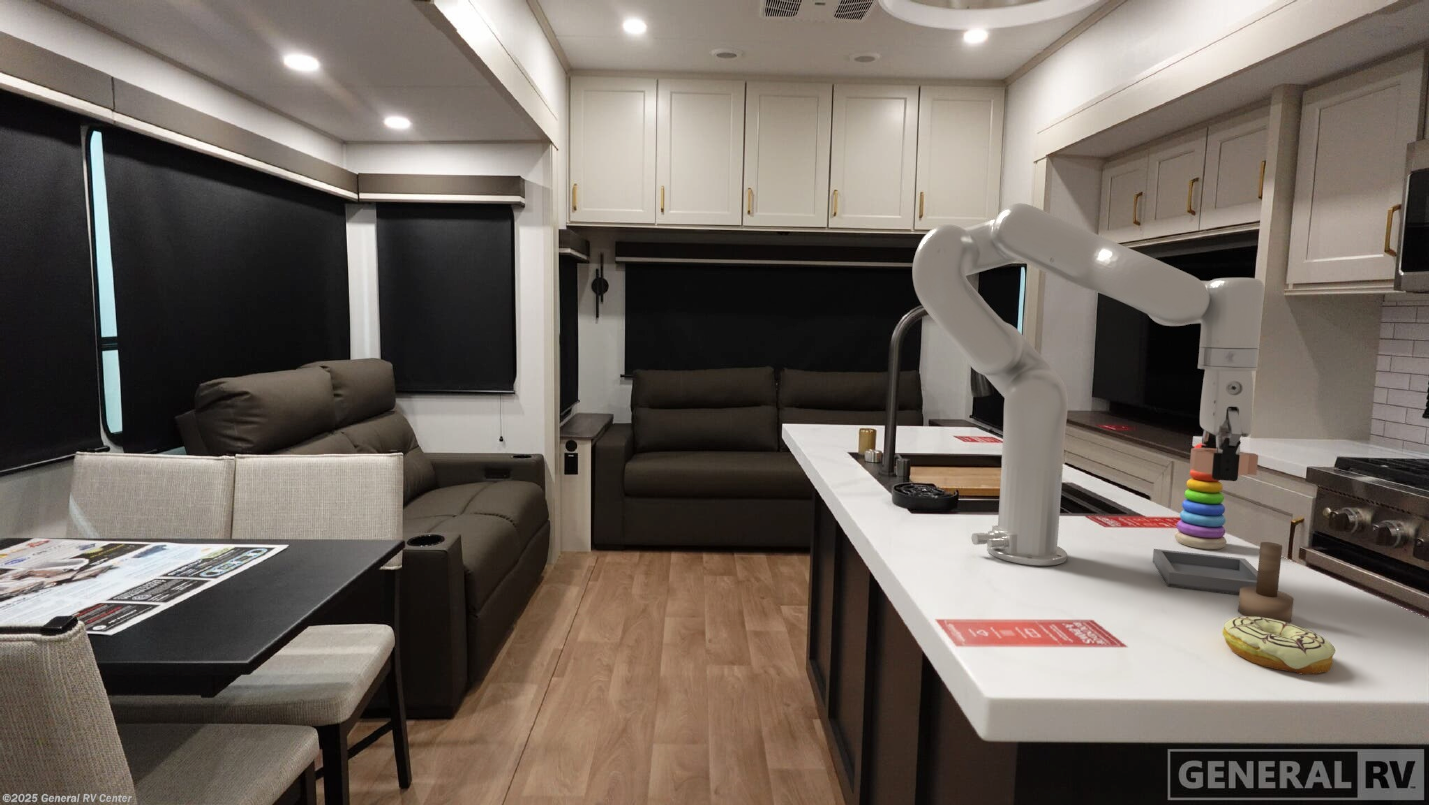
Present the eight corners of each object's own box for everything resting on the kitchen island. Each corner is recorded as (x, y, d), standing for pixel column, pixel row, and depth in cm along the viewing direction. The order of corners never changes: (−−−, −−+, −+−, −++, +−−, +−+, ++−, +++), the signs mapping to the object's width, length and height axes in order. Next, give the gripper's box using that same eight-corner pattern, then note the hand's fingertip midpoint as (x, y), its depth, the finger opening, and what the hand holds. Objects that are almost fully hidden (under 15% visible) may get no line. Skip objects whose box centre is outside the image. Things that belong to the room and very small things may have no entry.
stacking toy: (1236, 551, 135) (1246, 446, 133) (1190, 550, 135) (1199, 445, 133) (1208, 538, 143) (1217, 439, 141) (1165, 537, 143) (1173, 438, 141)
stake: (1267, 625, 102) (1274, 552, 100) (1227, 608, 107) (1233, 539, 106) (1302, 622, 103) (1310, 549, 102) (1261, 605, 109) (1268, 537, 108)
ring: (1261, 478, 113) (1263, 458, 113) (1196, 473, 116) (1198, 453, 116) (1247, 469, 120) (1249, 450, 119) (1186, 465, 122) (1188, 446, 122)
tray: (1269, 598, 112) (1271, 584, 111) (1168, 586, 116) (1169, 572, 116) (1243, 571, 124) (1245, 558, 123) (1152, 561, 128) (1153, 548, 128)
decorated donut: (1312, 688, 85) (1315, 655, 84) (1206, 652, 94) (1209, 622, 93) (1346, 665, 91) (1349, 634, 90) (1243, 633, 99) (1246, 605, 99)
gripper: (1276, 363, 107) (1264, 488, 109) (1240, 358, 123) (1230, 467, 125) (1213, 362, 109) (1203, 484, 111) (1186, 357, 125) (1177, 463, 127)
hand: (1217, 474), depth 118 cm, fingers closed on ring, 7 cm apart
